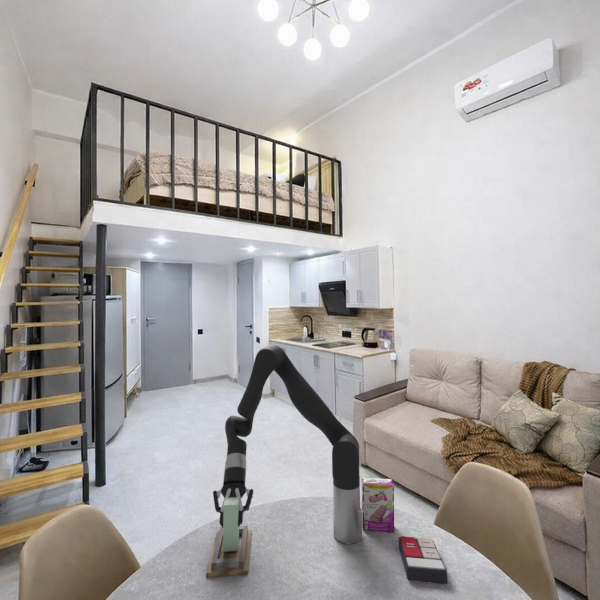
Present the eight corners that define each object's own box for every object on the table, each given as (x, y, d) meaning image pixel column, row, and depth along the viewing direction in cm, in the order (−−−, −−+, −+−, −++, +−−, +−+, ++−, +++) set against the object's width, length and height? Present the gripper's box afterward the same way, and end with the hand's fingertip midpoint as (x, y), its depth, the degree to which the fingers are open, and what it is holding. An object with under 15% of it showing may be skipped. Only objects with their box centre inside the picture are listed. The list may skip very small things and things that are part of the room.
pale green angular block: (238, 541, 107) (239, 496, 108) (237, 550, 103) (237, 504, 104) (224, 542, 107) (225, 497, 108) (222, 551, 102) (223, 505, 103)
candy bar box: (362, 531, 115) (362, 483, 116) (361, 522, 120) (360, 476, 121) (395, 533, 114) (394, 484, 115) (392, 524, 119) (391, 478, 120)
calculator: (432, 537, 107) (447, 568, 92) (433, 551, 106) (448, 585, 92) (398, 534, 108) (407, 564, 94) (398, 548, 108) (407, 581, 93)
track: (251, 532, 115) (251, 523, 115) (247, 574, 96) (247, 563, 96) (216, 534, 113) (216, 525, 114) (205, 577, 95) (206, 566, 95)
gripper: (213, 466, 114) (206, 523, 101) (255, 464, 115) (253, 521, 102) (216, 475, 118) (209, 531, 106) (255, 473, 120) (253, 528, 107)
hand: (230, 525), depth 104 cm, fingers closed on pale green angular block, 4 cm apart
